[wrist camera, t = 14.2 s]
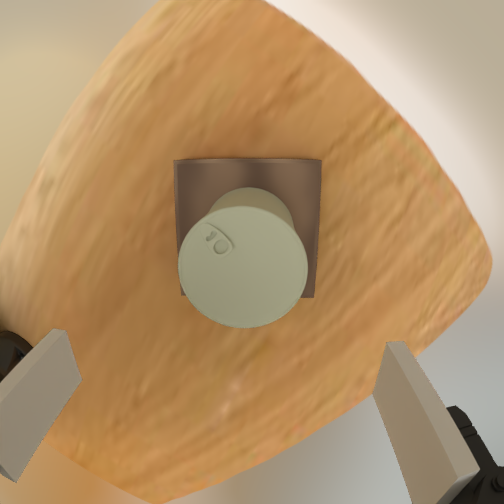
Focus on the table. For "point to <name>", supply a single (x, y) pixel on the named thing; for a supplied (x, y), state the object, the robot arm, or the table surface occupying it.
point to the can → (244, 260)
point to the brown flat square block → (255, 176)
